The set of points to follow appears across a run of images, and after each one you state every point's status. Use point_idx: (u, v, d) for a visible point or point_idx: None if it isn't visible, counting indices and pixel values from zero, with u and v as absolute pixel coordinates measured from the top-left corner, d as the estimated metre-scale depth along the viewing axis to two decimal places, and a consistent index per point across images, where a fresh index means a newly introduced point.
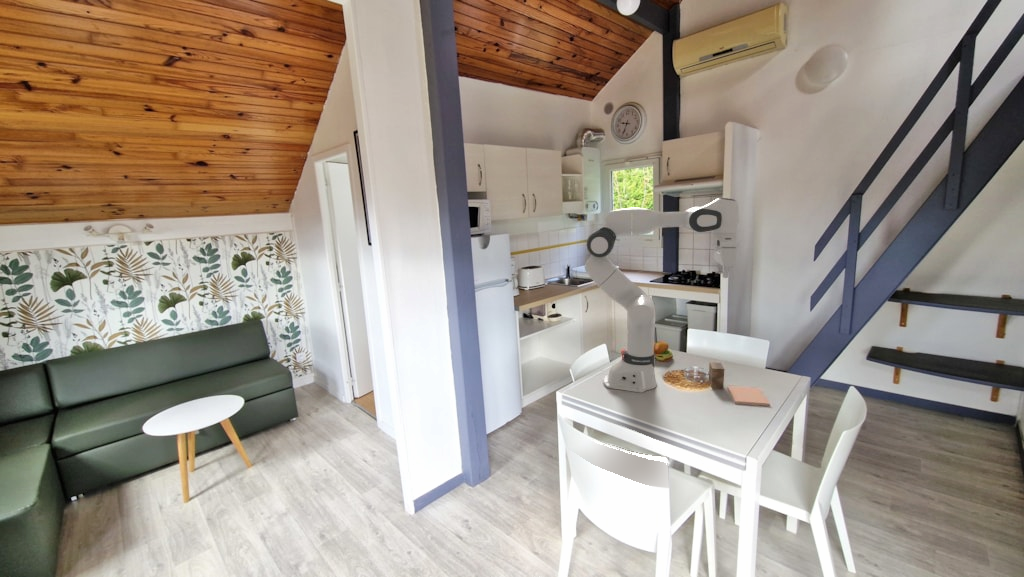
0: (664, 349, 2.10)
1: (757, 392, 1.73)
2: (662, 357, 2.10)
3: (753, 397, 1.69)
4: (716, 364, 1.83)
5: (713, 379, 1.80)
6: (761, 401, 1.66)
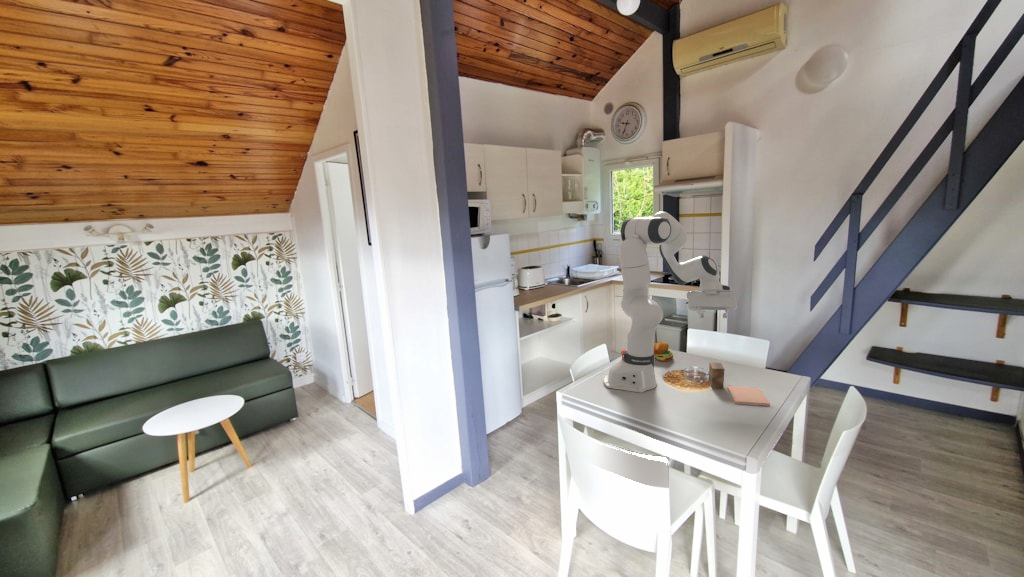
0: (664, 349, 2.10)
1: (757, 392, 1.73)
2: (662, 357, 2.10)
3: (753, 397, 1.69)
4: (716, 364, 1.83)
5: (713, 379, 1.80)
6: (761, 401, 1.66)
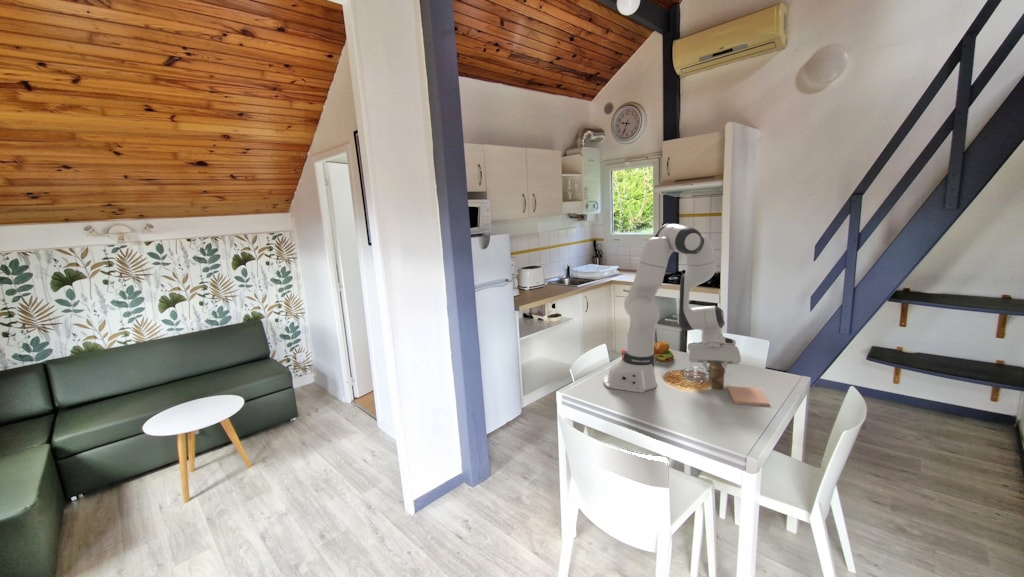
0: (665, 349, 2.10)
1: (757, 392, 1.73)
2: (663, 357, 2.10)
3: (753, 397, 1.69)
4: (716, 364, 1.83)
5: (713, 379, 1.80)
6: (761, 401, 1.66)
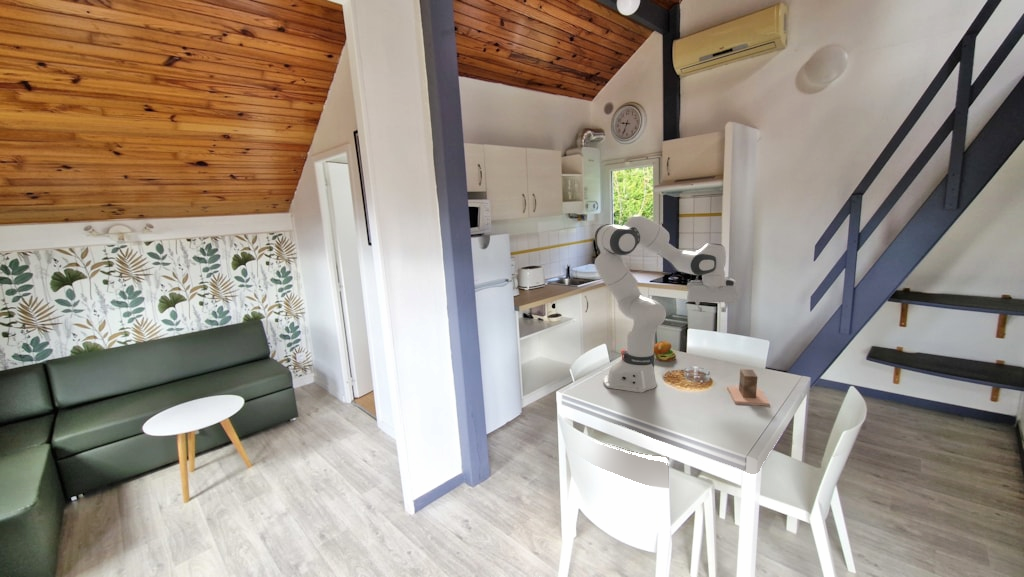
0: (667, 349, 2.10)
1: (757, 392, 1.73)
2: (665, 357, 2.10)
3: None
4: (748, 371, 1.72)
5: (745, 387, 1.69)
6: (761, 401, 1.66)
